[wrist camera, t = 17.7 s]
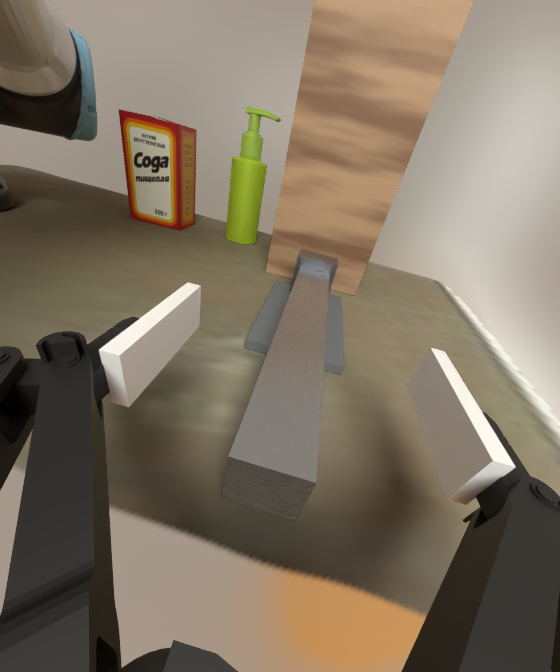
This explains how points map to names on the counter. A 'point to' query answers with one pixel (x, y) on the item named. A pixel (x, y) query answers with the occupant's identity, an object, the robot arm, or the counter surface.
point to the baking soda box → (159, 170)
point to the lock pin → (286, 402)
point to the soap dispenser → (247, 183)
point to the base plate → (270, 319)
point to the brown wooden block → (358, 125)
